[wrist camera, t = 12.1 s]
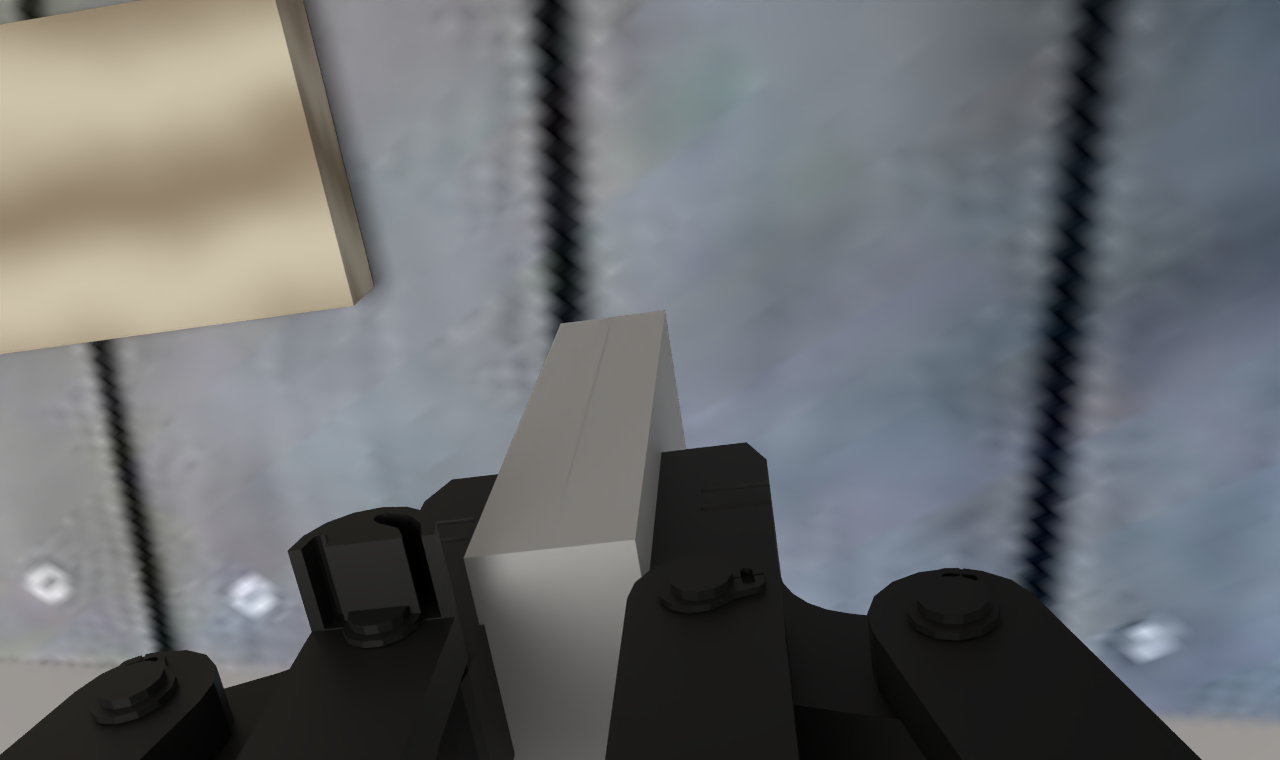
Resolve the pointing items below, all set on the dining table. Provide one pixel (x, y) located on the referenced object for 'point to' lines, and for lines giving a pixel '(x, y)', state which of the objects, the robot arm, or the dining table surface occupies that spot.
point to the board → (168, 173)
